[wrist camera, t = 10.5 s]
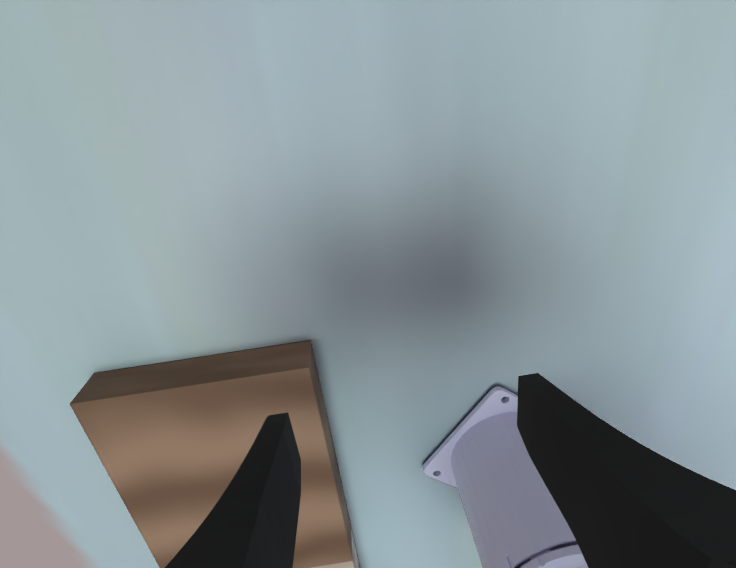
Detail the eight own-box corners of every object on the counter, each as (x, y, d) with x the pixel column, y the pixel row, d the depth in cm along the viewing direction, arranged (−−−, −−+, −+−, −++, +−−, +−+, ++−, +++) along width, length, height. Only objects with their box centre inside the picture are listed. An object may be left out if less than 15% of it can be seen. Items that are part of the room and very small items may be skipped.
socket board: (365, 591, 35) (368, 627, 32) (215, 616, 34) (207, 653, 32) (310, 340, 24) (308, 367, 22) (93, 373, 24) (69, 404, 22)
